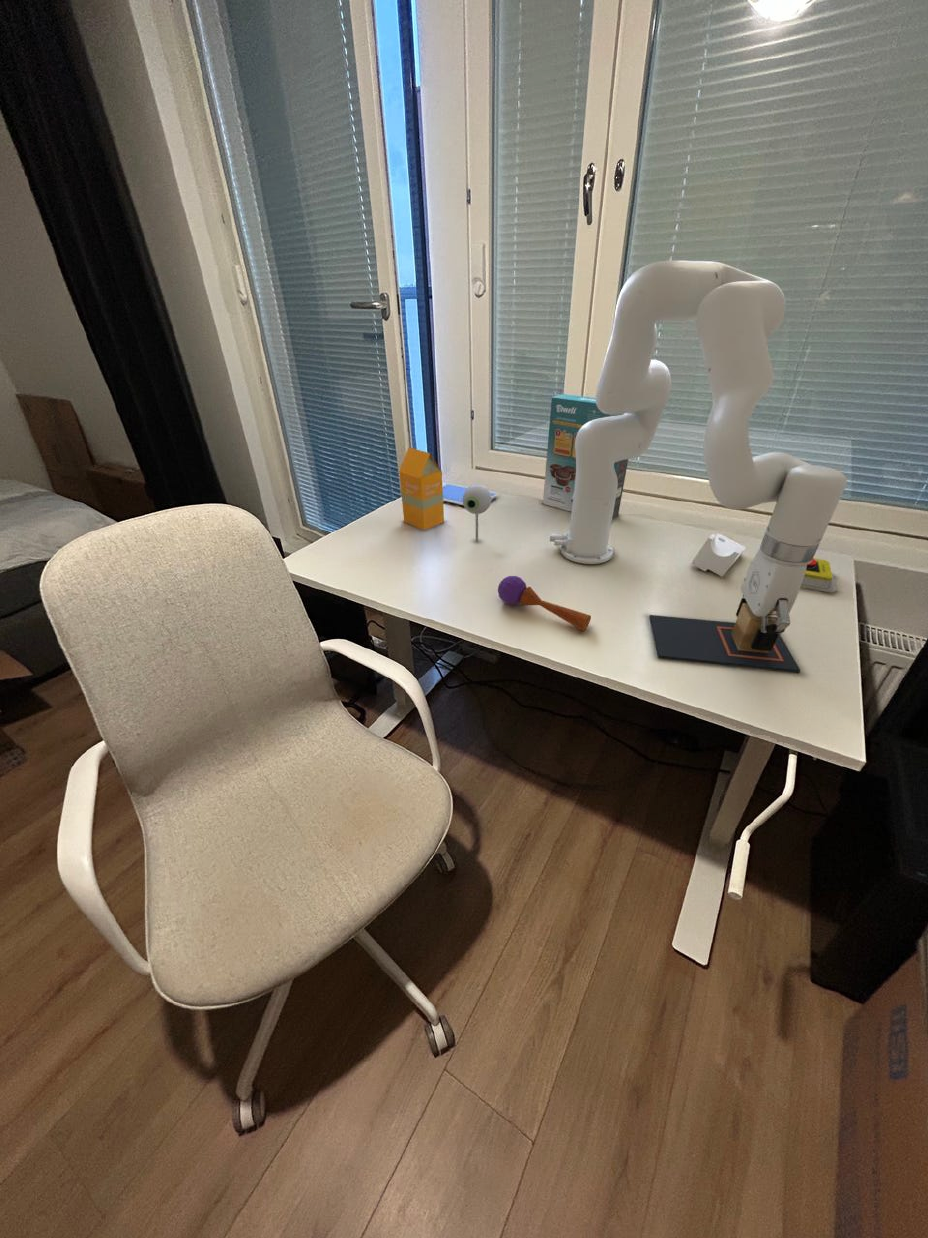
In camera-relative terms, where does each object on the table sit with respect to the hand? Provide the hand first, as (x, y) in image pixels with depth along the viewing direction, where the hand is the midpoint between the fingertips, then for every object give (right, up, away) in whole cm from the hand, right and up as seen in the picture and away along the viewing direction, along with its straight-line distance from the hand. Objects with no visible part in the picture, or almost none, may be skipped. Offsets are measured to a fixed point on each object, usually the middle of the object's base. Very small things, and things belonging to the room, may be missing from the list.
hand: (752, 632), depth 86 cm
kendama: (-36, +3, +11) cm, 38 cm away
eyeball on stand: (-49, +23, +39) cm, 66 cm away
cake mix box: (-18, +35, +56) cm, 68 cm away
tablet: (-53, +40, +65) cm, 93 cm away
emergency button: (+23, +12, +22) cm, 34 cm away
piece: (0, -2, +1) cm, 2 cm away
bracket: (+9, +16, +28) cm, 33 cm away
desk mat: (-5, -2, +2) cm, 6 cm away
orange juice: (-64, +30, +50) cm, 86 cm away
